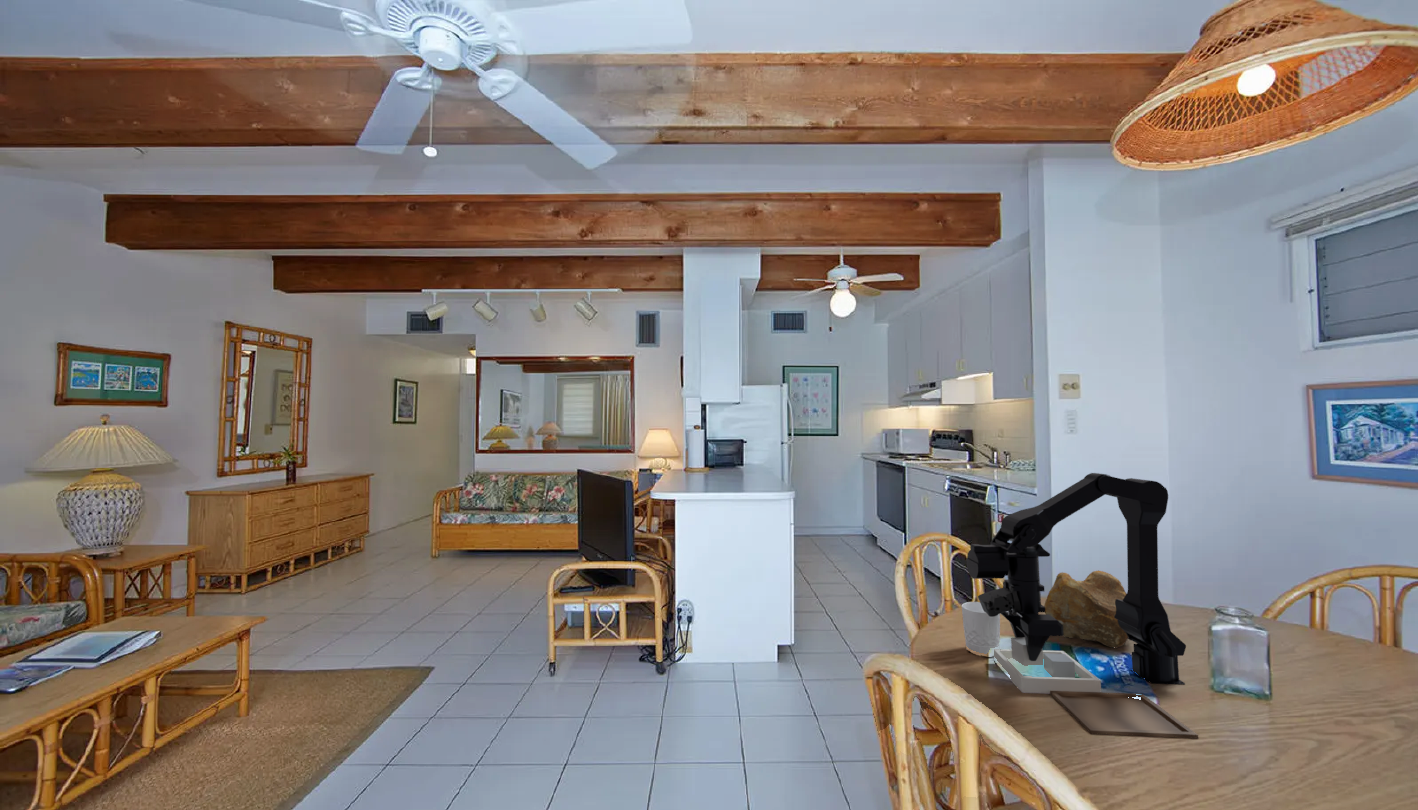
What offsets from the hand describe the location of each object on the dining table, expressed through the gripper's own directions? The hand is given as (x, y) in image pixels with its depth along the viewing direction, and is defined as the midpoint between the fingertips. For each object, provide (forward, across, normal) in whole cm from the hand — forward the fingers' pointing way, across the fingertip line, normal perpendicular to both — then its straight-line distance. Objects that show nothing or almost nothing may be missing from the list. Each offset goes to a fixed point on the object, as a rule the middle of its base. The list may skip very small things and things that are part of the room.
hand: (1027, 655), depth 112 cm
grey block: (+4, 0, +6) cm, 7 cm away
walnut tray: (+5, +14, +9) cm, 17 cm away
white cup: (+5, -14, -4) cm, 15 cm away
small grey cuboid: (+1, 0, 0) cm, 1 cm away
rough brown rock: (+5, -24, +26) cm, 36 cm away
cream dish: (+5, 0, +3) cm, 6 cm away
